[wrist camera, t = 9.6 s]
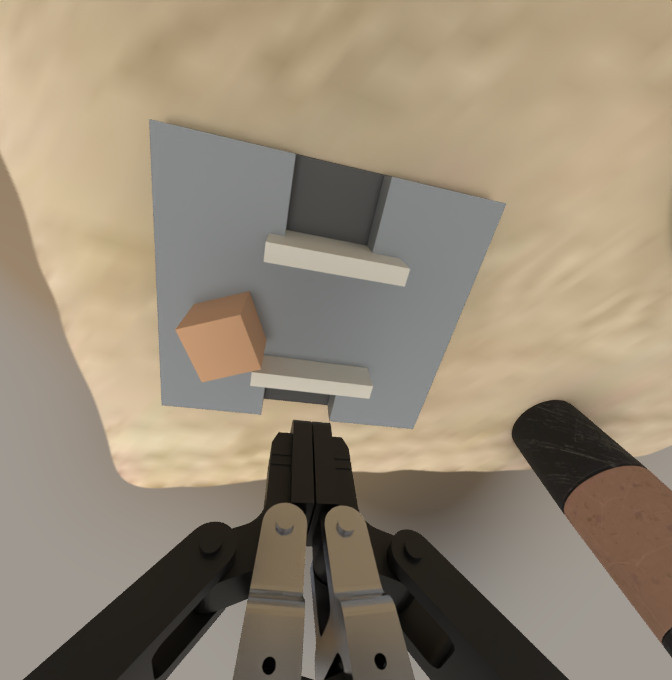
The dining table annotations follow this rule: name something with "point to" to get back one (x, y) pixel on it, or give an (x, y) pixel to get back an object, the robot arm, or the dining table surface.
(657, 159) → the dining table surface
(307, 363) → the tunnel deck
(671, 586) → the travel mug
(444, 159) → the dining table surface
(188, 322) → the block
